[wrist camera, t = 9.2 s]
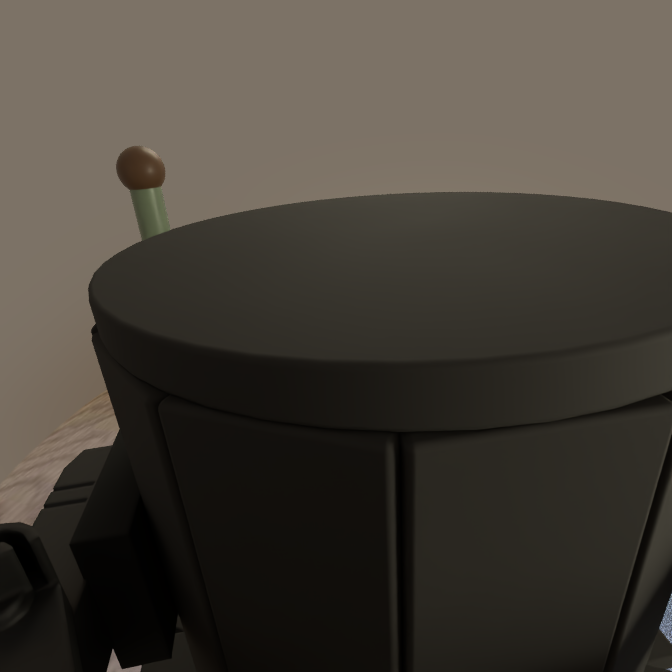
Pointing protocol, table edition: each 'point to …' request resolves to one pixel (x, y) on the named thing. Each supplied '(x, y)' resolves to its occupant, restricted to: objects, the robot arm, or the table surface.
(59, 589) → the robot arm
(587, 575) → the hat
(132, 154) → the hat stand
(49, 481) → the table surface
